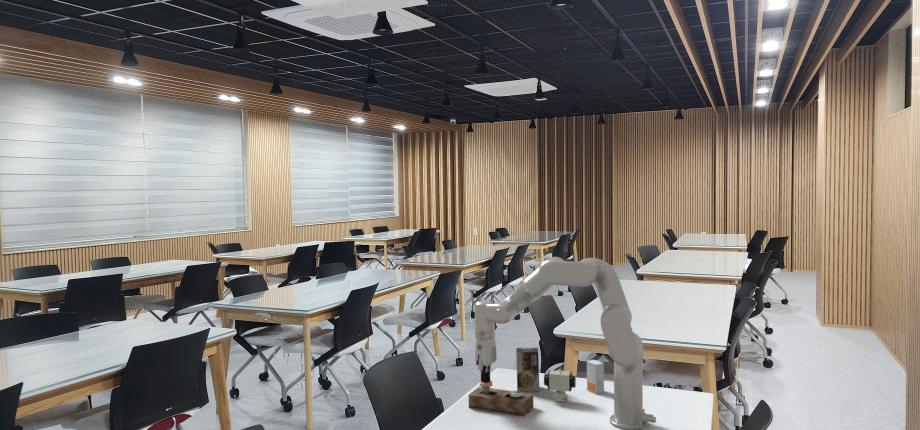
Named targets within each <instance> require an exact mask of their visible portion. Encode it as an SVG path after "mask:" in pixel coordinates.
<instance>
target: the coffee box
mask: <svg viewBox="0 0 920 430" xmlns="http://www.w3.org/2000/svg"><path fill="white" fill-rule="evenodd" d="M515 351H516V353H515V356H516V357H515V358H516V362H515V363H516V389H517V390H516V391H521V392H524V391H525V392H531V391H532V392H536V391H537V392H538V391H539V392H540V368H539V367H540V365H539V364H540V362H539V348H538V347H516V349H515Z"/></svg>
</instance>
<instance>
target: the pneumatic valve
mask: <svg viewBox="0 0 920 430" xmlns="http://www.w3.org/2000/svg"><path fill="white" fill-rule="evenodd" d="M543 384H544V386H546V388H547V390H548V391H554V392H552V399H553V400H554V402H556V403H565V402H566V401H567V400H568V393H566V392H572V389H573V388H575V389H576V385H577V379H576V375H574V374H573V371H566V370H561V369H558V370H550V369H549V370H548V372H547V373H544V376H543Z"/></svg>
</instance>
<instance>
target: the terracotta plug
mask: <svg viewBox="0 0 920 430" xmlns="http://www.w3.org/2000/svg"><path fill="white" fill-rule="evenodd" d="M479 387H483V394H487V395H490V388H492V387H493V381H492V380H491V379H490V382H489V383H485V382H481V380H480V381H479Z"/></svg>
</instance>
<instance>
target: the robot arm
mask: <svg viewBox="0 0 920 430" xmlns="http://www.w3.org/2000/svg"><path fill="white" fill-rule="evenodd" d="M592 284H594V285H595V288H596V291H597V295H598V298H599V301H600V304H601V308H602V312H601V316H600V326H601V327H600V328H601V331H602V333H603V337H604V340H605V343H606V346H607V350H608V353H609V355H610V357H611V359H612V362H613V364H614V365H613V393H614V394H613V405H614V406H613V413H614V414H612V415H611V416H609V422H610V424H611V425H613V426H614V427H617V428H619V429H622V430H640V429H644V428H646V427H647V426H648V422H649V423H653V424H655V423H657V417H656V416H654V414H650V413H649V414H648V413H647V412H646V410H645V408H643V407H644V406H643V405H644V403H643V400H644V399H643V398H644V397H643V391H644V389H643V386H644V385H643V382H644V381H643V380H644V379H643V377H644V376H643V374H644V373H643V371H644V367H643V366H644V365H643V364H644V344H643V341H642V338H641V337H640V336H639V335H638V334H637V333H636V332H634V331H633V328H632V324H631V323H632V320H633V314H632V312H631V310H630V306H629V304H628V300H627V298H626V296H625V295H626V294H625V291H624V290H623V287H622V285H621V281H620V279H619V276H618V274H617V272H616V270H615V269H614V268H613V267H612V266H611V265H610V263H608V262H606V261H605V260H602V259H600V258H596V257H586V258H582V259H581V260H580V261H567V260H564V259H563V258H562V257H559V256H552V257H549V258H548V259H546V260H543V261H542V263H541V264H540V265H539V266H538V267H537V268H536V269H535V270H534V271H533V272H531V273H530V274H529V275H528V276H527V277H526V278H524V279H523V280H522V282H521V284H520V285H519V286H518V288H517V289H515V290H514V291H513V292H512V293H511V294H509V296H507V297H506V298H505V299H504V300H501V301H500V302H497V303H494V302H493V301H491V300H477V301H476V302H475V303H474V338H475V339H476V340H475V349H474V350H475V351H474V352H475V353H474V354H475V355H474V358H475V361H474V362H475V364H476V366H477V370H479V371H480V372H479V373H480V381H481V382H485V383H489V382H490V380H491V371H492V370H491V369H492V368H491V367H492V364H494V363H495V362H497V341H496V324H500V325H503V324H504V325H505V324H507V323H508V322H510V321H511V320H513V319H514V318H515V317H517V316H518V315H519V314H520V313H521V312H523V311H524V310H525V309H526V308H527V307H528V306H530V305H531V304H533V302H535V301H537V300H538V299H540V298H541V297H542V296H544V294H546V293H547V292H548V291H550V290H551V289H552V288H553V287H554V286H555V285H556V286H565V287H577V288H579V287H580V288H581V287H582V288H583V287H584V288H585V287H589V286H591V285H592Z"/></svg>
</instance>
